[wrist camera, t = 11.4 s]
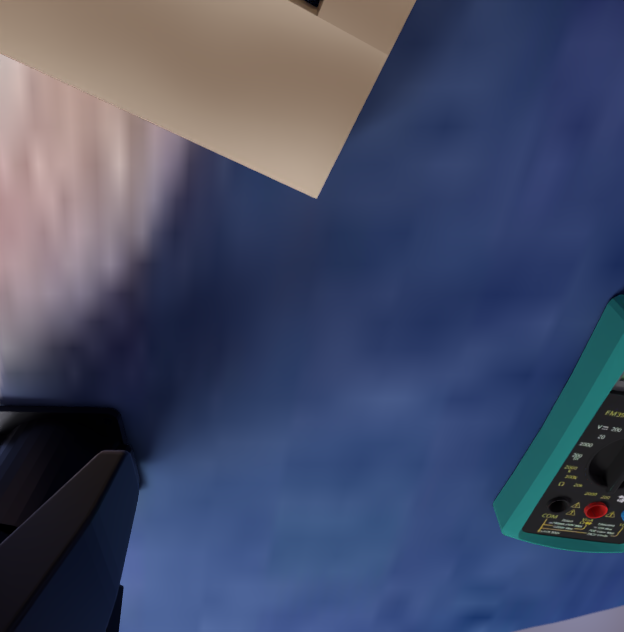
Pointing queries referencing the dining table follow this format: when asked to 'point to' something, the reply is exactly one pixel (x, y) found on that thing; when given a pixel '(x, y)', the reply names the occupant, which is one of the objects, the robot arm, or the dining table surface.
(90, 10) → the socket block
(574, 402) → the digital multimeter
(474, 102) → the dining table surface
